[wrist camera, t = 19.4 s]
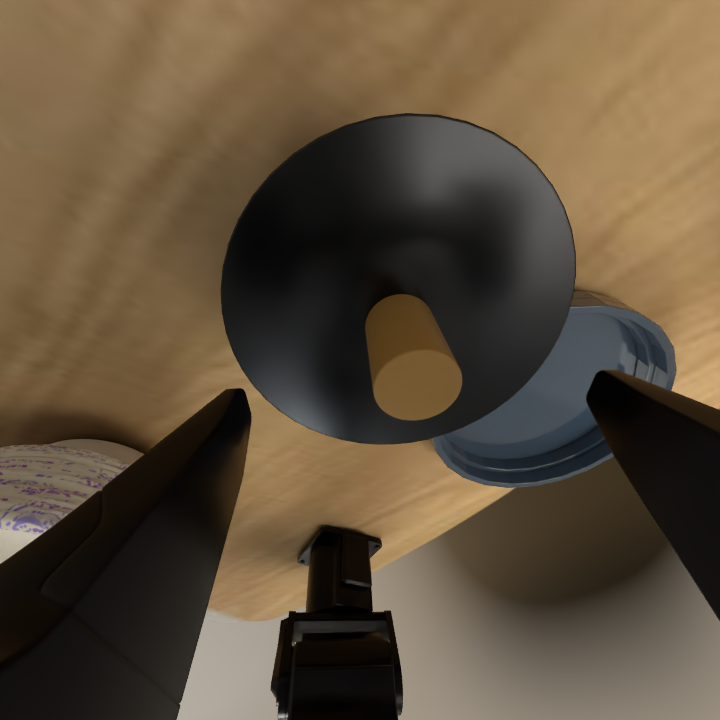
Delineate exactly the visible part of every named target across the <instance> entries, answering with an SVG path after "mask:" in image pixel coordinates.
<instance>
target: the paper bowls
mask: <svg viewBox="0 0 720 720" xmlns="http://www.w3.org/2000/svg"><path fill="white" fill-rule="evenodd" d="M143 455H144V454H143V453H141V452H139V451H137V450H135V449H132V448H130V447H127V446H124V445H121V444H117V443H113V442H108V441H102V440H94V439H72V440H64V441H60V442H55V443H52V444H49V445H48V444H43V445H11V446H5V447H1V448H0V564H1V563H2V562H4V561H5V560H6V559H8V558H9V557H11V556H12V555H13V554H15V553H16V552H18V551H19V550H20V549H22V548H23V547H25V546H26V545H27V544H29V543H30V542H32V541H33V540H34V539H36V538H37V537H38V536H40V535H41V534H43V533H44V532H45V531H47V530H48V529H49V528H51V527H52V526H53V525H55V524H56V523H57V522H59V521H60V520H61V519H63V518H64V517H65V516H66V515H68V514H69V513H70V512H72V511H73V510H74V509H76V508H77V507H78V506H80V505H81V504H82V503H83V502H85V501H86V500H87V499H88V498H90V497H91V496H92V495H93V494H95V493H96V492H97V491H99V490H101V491H102V488H103V487H104V486H105V485H106V484H107V483H109V482H110V481H111V480H112V479H114V478H115V477H116V476H118V475H119V474H120V473H121V472H123V471H124V470H125V469H126V468H128V467H129V466H130V465H131V464H133V463H134V462H135V461H136V460H138V459H139V458H140V457H141V456H143Z"/></svg>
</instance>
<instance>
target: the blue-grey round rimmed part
mask: <svg viewBox="0 0 720 720" xmlns="http://www.w3.org/2000/svg"><path fill="white" fill-rule="evenodd" d="M613 369H615V370H620V371H622V372H625V373H627V374H630V375H632V376H635V377H637V378H640V379H642V380H645V381H647V382H650V383H652V384H655V385H658V386H660V387H663V388H665V389H668V390H670V391H671V390H672V386H673V383H674V379H675V375H676V362H675V352H674V347H673V345H672V344H671V342H670V340H669V339H668V337H667V336H666V334H665V332H664V331H663V329H662V328H661V327H660V326H659V325H657V324H656V323H654V322H653V321H651V320H650V319H648V318H647V317H645V316H644V315H642V314H641V313H639V312H637V311H636V310H634V309H632V308H631V307H629V306H627V305H626V304H624V303H622V302H621V301H619V300H617V299H616V298H613V297H609V296H604V295H600V294H596V293H592V292H587V291H574V292H573V298H572V302H571V306H570V309H569V313H568V317H567V319H566V322H565V324H564V327H563V329H562V331H561V334H560V336H559V338H558V340H557V342H556V343H555V345H554V347H553V349H552V351H551V352H550V354H549V356H548V357H547V358H546V360H545V361H544V363H543V364H542V365H541V367H540V368H539V370H538V371H537V372H536V373H535V374H534V375H533V377H532V378H531V379H530V380H529V381H528V382H527V383H526V384H525V385H524V386H523V387H522V388H521V389H520V390H519V391H518V392H517V393H516V394H515V395H514V396H513V397H511V398H510V399H509V400H508V401H506V402H505V403H504V404H502V405H501V406H500V407H498V408H497V409H496V410H494V411H493V412H491V413H489V414H488V415H486V416H484V417H483V418H481V419H480V420H478V421H475V422H473V423H471V424H469V425H467V426H465V427H463V428H461V429H458V430H456V431H453V432H451V433H448V434H445V435H442V436H438V437H435V438H432V441H433V444H434V448H435V450H436V452H437V453H438V455H439V456H440V457H441V459H442V460H443V462H444V463H445V464H446V466H447V467H449V468H450V469H452V470H453V471H455V472H456V473H457V474H459V475H460V476H462V477H463V478H466V479H468V480H471V481H474V482H477V483H480V484H483V485H489V486H497V487H506V488H513V487H530V486H537V485H542V484H547V483H551V482H556V481H560V480H563V479H566V478H568V477H571V476H574V475H577V474H580V473H582V472H585V471H587V470H589V469H591V468H593V467H595V466H597V465H598V464H600V463H602V462H604V461H606V460H608V459H610V458H611V457H613V454H612V452H611V450H610V448H609V446H608V444H607V442H606V440H605V438H604V436H603V435H602V433H601V431H600V429H599V427H598V425H597V423H596V421H595V419H594V417H593V415H592V413H591V411H590V409H589V407H588V405H587V402H586V395H587V392H588V390H589V388H590V386H591V383H592V381H593V379H594V377H595V375H596V373H597V372H598V371H601V370H613Z"/></svg>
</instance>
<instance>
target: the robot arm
mask: <svg viewBox="0 0 720 720" xmlns="http://www.w3.org/2000/svg"><path fill="white" fill-rule="evenodd" d="M586 402H587V405H588V407H589V409H590V411H591V413H592V415H593V417H594V419H595V421H596V423H597V425H598V427H599V429H600V431H601V433H602V435H603V436H604V438H605V440H606V442H607V444H608V446H609V448H610V450H611V452H612V454H613V456H614V457H615V459H616V460H617V462H618V464H619V465H620V467H621V468H622V470H623V471H624V473H625V475H626V476H627V478H628V479H629V481H630V482H631V484H632V485H633V487H634V489H635V490H636V492H637V493H638V495H639V496H640V498H641V500H642V501H643V503H644V504H645V506H646V507H647V509H648V510H649V512H650V513H651V515H652V516H653V518H654V520H655V521H656V523H657V524H658V526H659V527H660V529H661V531H662V532H663V533H664V535H665V537H666V538H667V540H668V541H669V543H670V545H671V546H672V548H673V549H674V550H675V552H676V554H677V555H678V557H679V559H680V560H681V562H682V563H683V565H684V566H685V568H686V569H687V571H688V572H689V574H690V576H691V577H692V579H693V580H694V582H695V583H696V585H697V586H698V588H699V590H700V591H701V593H702V594H703V596H704V597H705V599H706V600H707V602H708V604H709V605H710V607H711V608H712V610H713V611H714V613H715V614H716V616H717V618H718V619H719V621H720V410H718V409H716V408H713V407H711V406H708V405H705V404H703V403H700V402H698V401H695V400H693V399H690V398H688V397H685V396H683V395H680V394H678V393H675V392H673V391H670V390H668V389H665V388H663V387H660V386H658V385H655V384H652V383H650V382H647V381H645V380H642V379H640V378H637V377H635V376H632V375H630V374H627V373H625V372H622V371H620V370H615V369H613V370H601V371H598V372H597V373H596V375H595V377H594V379H593V381H592V383H591V386H590V388H589V390H588V392H587V395H586ZM250 427H251V411H250V407H249V404H248V400H247V397H246V393H245V391H244V390H243V389H241V388H237V389H226V390H225V391H223V392H222V393H221V394H220V395H218V396H217V397H216V398H214V399H213V400H212V401H211V402H209V403H208V404H207V405H206V406H204V407H203V408H202V409H201V410H199V411H198V412H197V413H196V414H194V415H193V416H192V417H191V418H189V419H188V420H187V421H186V422H184V423H183V424H182V425H180V426H179V427H178V428H177V429H175V430H174V431H173V432H172V433H170V434H169V435H168V436H167V437H165V438H164V439H163V440H162V441H160V442H159V443H158V444H157V445H155V446H154V447H153V448H152V449H150V450H149V451H148V452H146V453H145V454H144V455H143V456H141V457H140V458H139V459H138V460H136V461H135V462H134V463H133V464H131V465H130V466H129V467H128V468H126V469H125V470H124V471H123V472H121V473H120V474H119V475H118V476H116V477H115V478H114V479H112V480H111V481H110V482H109V483H107V484H106V485H105V486H104V487H103V488H102V491H101V490H99V491H97V492H96V493H95V494H93V495H92V496H91V497H90V498H88V499H87V500H86V501H85V502H83V503H82V504H81V505H80V506H78V507H77V508H76V509H74V510H73V511H72V512H70V513H69V514H68V515H66V516H65V517H64V518H63V519H61V520H60V521H59V522H57V523H56V524H55V525H53V526H52V527H51V528H49V529H48V530H47V531H45V532H44V533H43V534H41V535H40V536H38V537H37V538H36V539H34V540H33V541H32V542H30V543H29V544H27V545H26V546H25V547H23V548H22V549H20V550H19V551H18V552H16V553H15V554H13V555H12V556H11V557H9V558H8V559H6V560H5V561H4V562H2V563H1V564H0V720H176V719H177V716H178V712H179V709H180V704H179V703H180V702H181V700H182V697H183V693H184V689H185V686H186V682H187V679H188V675H189V671H190V668H191V664H192V660H193V657H194V653H195V650H196V646H197V642H198V639H199V635H200V631H201V627H202V624H203V620H204V617H205V613H206V610H207V606H208V602H209V599H210V595H211V591H212V588H213V584H214V581H215V577H216V573H217V570H218V566H219V562H220V559H221V555H222V551H223V548H224V544H225V541H226V537H227V533H228V530H229V526H230V522H231V519H232V515H233V512H234V508H235V504H236V501H237V497H238V493H239V490H240V486H241V482H242V478H243V473H244V467H245V461H246V454H247V447H248V441H249V434H250ZM381 547H382V542H381V540H379V539H375V538H371V537H367V536H363V535H359V534H355V533H351V532H347V531H343V530H339V529H335V528H331V527H327V526H325V527H322V528H321V529H320V530H319V531H318V532H317V534H316V535H315V536H314V537H313V539H312V540H311V541H310V542H309V543H308V545H307V546H306V547H305V548H304V550H303V551H302V552H301V553H300V554H299V556H298V558H297V562H298V563H300V564H304V565H309V574H308V587H307V601H306V612H304V613H296V611H289V617H288V618H286V619H284V620H282V621H281V625H280V633H279V641H278V647H277V653H276V659H275V664H274V670H273V676H272V681H271V691H272V693H273V694H274V696H275V698H276V706H278V720H286V719H287V720H398V715H401V713H402V707H403V685H402V673H401V666H400V659H399V654H398V648H397V643H396V637H395V632H394V626H393V620H392V615H391V611H384V612H372V611H373V607H372V592H371V586H372V582H371V566H370V558H371V557H372V556H373V555H374V554H375V553H376V552H377V551H378V550H379V549H380V548H381ZM295 642H296V644H295ZM294 644H295V645H294Z"/></svg>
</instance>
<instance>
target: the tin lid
mask: <svg viewBox="0 0 720 720" xmlns="http://www.w3.org/2000/svg"><path fill="white" fill-rule="evenodd" d="M575 277H576V252H575V246H574V240H573V234H572V229H571V226H570V223H569V220H568V217H567V214H566V211H565V208H564V205H563V204H562V202H561V200H560V198H559V196H558V194H557V192H556V191H555V189H554V187H553V185H552V184H551V182H550V181H549V180H548V178H547V177H546V176H545V175H544V173H543V172H542V171H541V169H540V168H539V167H538V166H537V164H536V163H534V162H533V161H532V160H531V159H530V158H529V157H528V156H527V155H526V154H524V153H523V152H522V151H521V150H520V149H519V148H518V147H517V146H515V145H513V144H512V143H510V142H509V141H507V140H505V139H504V138H502V137H501V136H499V135H497V134H496V133H494V132H492V131H490V130H487V129H485V128H482V127H480V126H477V125H475V124H473V123H470V122H468V121H464V120H459V119H455V118H450V117H446V116H441V115H433V114H413V113H404V114H395V115H387V116H378V117H373V118H370V119H366V120H362V121H359V122H355V123H352V124H348V125H345V126H343V127H340V128H338V129H336V130H334V131H332V132H329V133H327V134H325V135H323V136H321V137H318V138H317V139H315V140H314V141H312V142H311V143H309V144H307V145H306V146H304V147H303V148H301V149H300V150H298V151H297V152H295V153H294V154H292V155H291V156H290V157H289V158H288V159H287V160H285V161H284V162H283V163H282V164H281V165H280V166H279V167H278V168H277V169H275V170H274V171H273V172H272V173H271V174H270V175H269V176H268V177H267V179H266V180H265V181H264V182H263V184H262V185H261V186H260V187H259V188H258V190H257V191H256V192H255V193H254V194H253V196H252V197H251V199H250V200H249V202H248V204H247V206H246V207H245V209H244V211H243V212H242V214H241V216H240V217H239V219H238V221H237V224H236V226H235V228H234V231H233V233H232V236H231V238H230V241H229V243H228V247H227V251H226V255H225V259H224V264H223V269H222V280H221V306H222V315H223V320H224V325H225V330H226V334H227V337H228V339H229V342H230V345H231V348H232V351H233V353H234V355H235V357H236V359H237V361H238V363H239V365H240V367H241V368H242V370H243V372H244V373H245V374H246V376H247V377H248V379H249V380H250V382H251V383H252V384H253V386H254V387H255V388H256V389H257V390H258V391H259V392H260V393H261V394H262V396H263V397H264V398H265V399H266V400H267V401H269V402H270V403H271V404H272V405H273V406H274V407H276V408H277V409H278V410H279V411H281V412H282V413H284V414H285V415H286V416H288V417H289V418H291V419H292V420H294V421H296V422H298V423H300V424H301V425H303V426H305V427H307V428H309V429H311V430H314V431H316V432H319V433H322V434H324V435H327V436H330V437H334V438H337V439H341V440H346V441H351V442H357V443H366V444H401V443H411V442H417V441H422V440H427V439H431V438H435V437H438V436H442V435H445V434H448V433H451V432H453V431H456V430H458V429H461V428H463V427H465V426H467V425H469V424H471V423H473V422H475V421H478V420H480V419H481V418H483V417H484V416H486V415H488V414H489V413H491V412H493V411H494V410H496V409H497V408H498V407H500V406H501V405H502V404H504V403H505V402H506V401H508V400H509V399H510V398H511V397H513V396H514V395H515V394H516V393H517V392H518V391H519V390H520V389H521V388H522V387H523V386H524V385H525V384H526V383H527V382H528V381H529V380H530V379H531V378H532V377H533V375H534V374H535V373H536V372H537V371H538V370H539V368H540V367H541V365H542V364H543V363H544V361H545V360H546V358H547V357H548V356H549V354H550V352H551V351H552V349H553V347H554V345H555V343H556V342H557V340H558V338H559V336H560V334H561V331H562V329H563V327H564V324H565V322H566V319H567V317H568V313H569V309H570V306H571V302H572V298H573V292H574V285H575Z"/></svg>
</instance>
